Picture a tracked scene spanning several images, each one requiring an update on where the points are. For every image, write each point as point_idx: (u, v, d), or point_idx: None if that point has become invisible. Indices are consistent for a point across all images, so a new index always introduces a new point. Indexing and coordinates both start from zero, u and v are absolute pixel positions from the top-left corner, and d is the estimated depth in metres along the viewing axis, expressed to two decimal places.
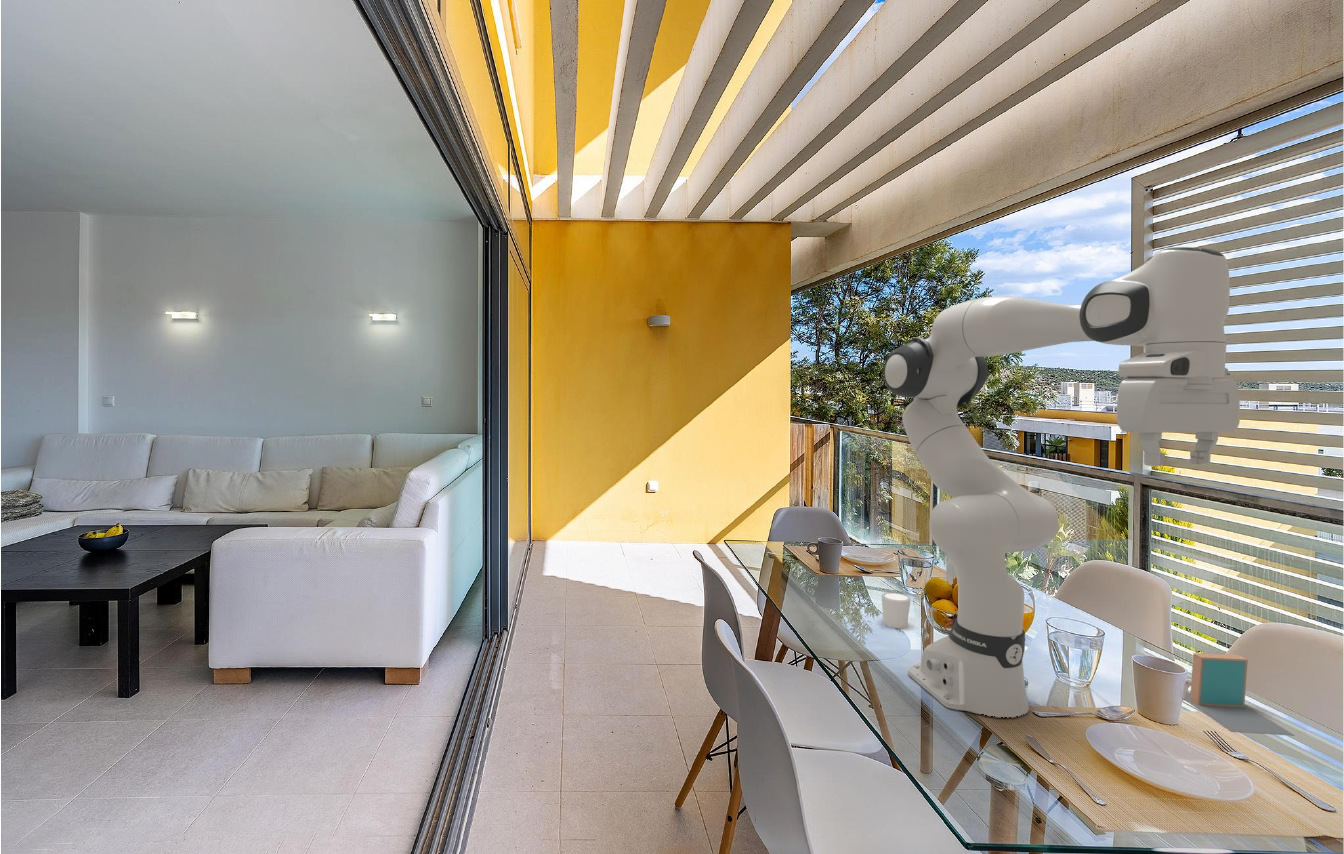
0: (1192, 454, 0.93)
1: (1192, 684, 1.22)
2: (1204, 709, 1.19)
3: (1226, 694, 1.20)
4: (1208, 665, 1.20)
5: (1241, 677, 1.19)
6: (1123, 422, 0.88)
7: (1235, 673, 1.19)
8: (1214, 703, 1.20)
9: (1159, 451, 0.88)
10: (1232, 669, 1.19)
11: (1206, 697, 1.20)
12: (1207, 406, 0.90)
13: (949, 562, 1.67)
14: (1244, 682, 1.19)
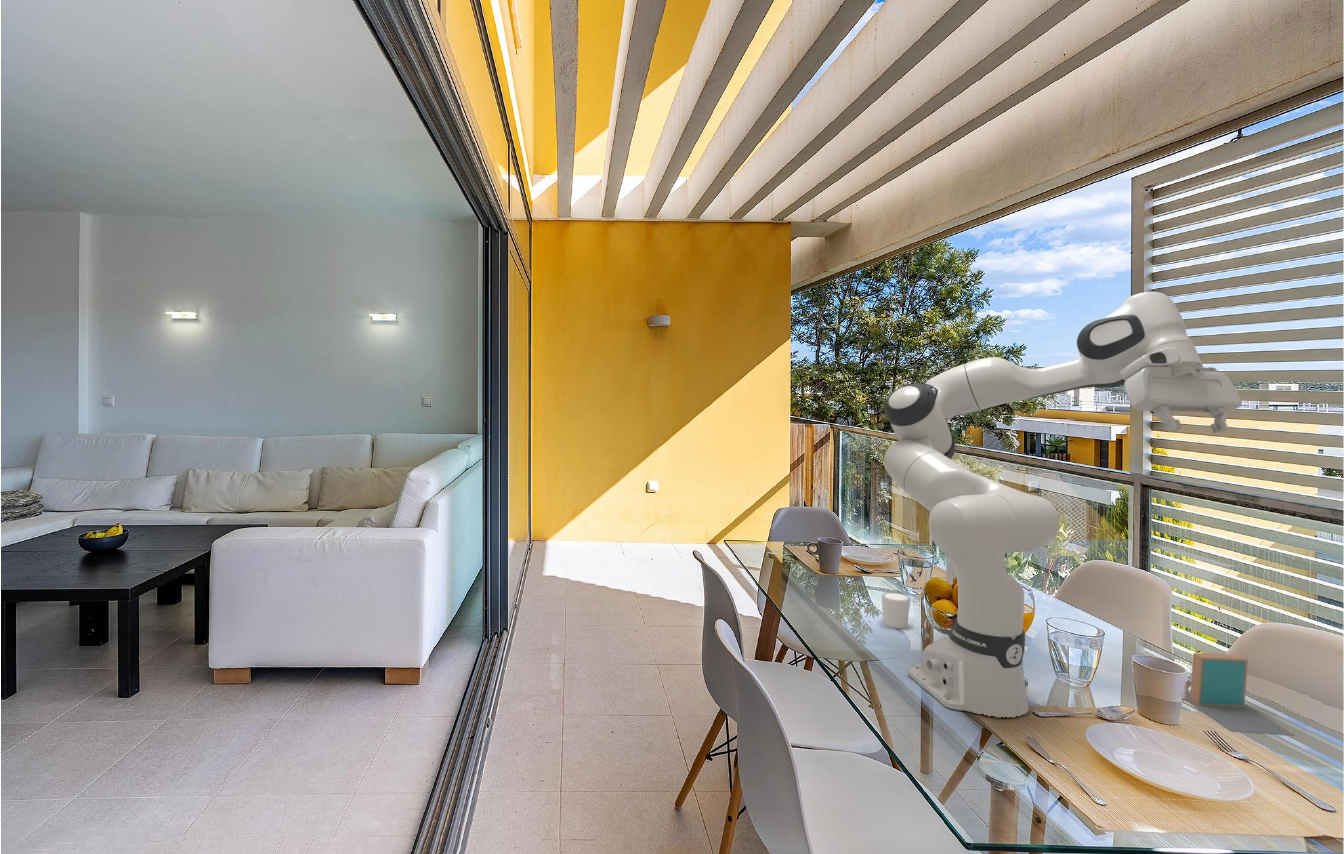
0: (1212, 426, 1.21)
1: (1192, 684, 1.22)
2: (1204, 709, 1.19)
3: (1226, 694, 1.20)
4: (1208, 665, 1.20)
5: (1241, 677, 1.19)
6: (1134, 403, 1.22)
7: (1235, 673, 1.19)
8: (1214, 703, 1.20)
9: (1172, 418, 1.19)
10: (1232, 669, 1.19)
11: (1206, 697, 1.20)
12: (1202, 387, 1.22)
13: (949, 562, 1.67)
14: (1244, 682, 1.19)
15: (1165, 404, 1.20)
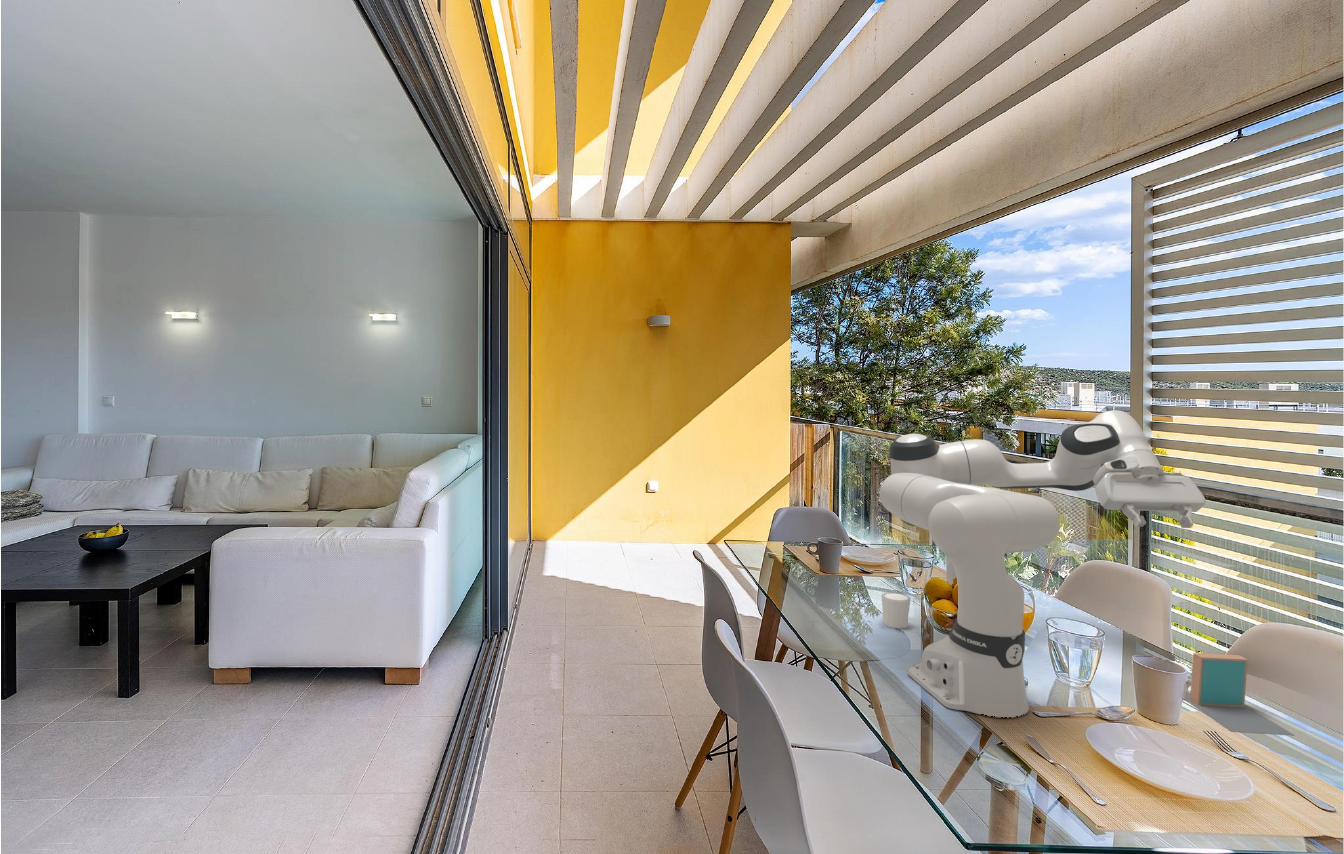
0: (1180, 522, 1.38)
1: (1192, 684, 1.22)
2: (1204, 709, 1.19)
3: (1226, 694, 1.20)
4: (1208, 665, 1.20)
5: (1241, 677, 1.19)
6: (1102, 503, 1.41)
7: (1235, 673, 1.19)
8: (1214, 703, 1.20)
9: (1136, 514, 1.37)
10: (1232, 669, 1.19)
11: (1206, 697, 1.20)
12: (1165, 488, 1.40)
13: (949, 562, 1.67)
14: (1244, 682, 1.19)
15: (1129, 503, 1.39)
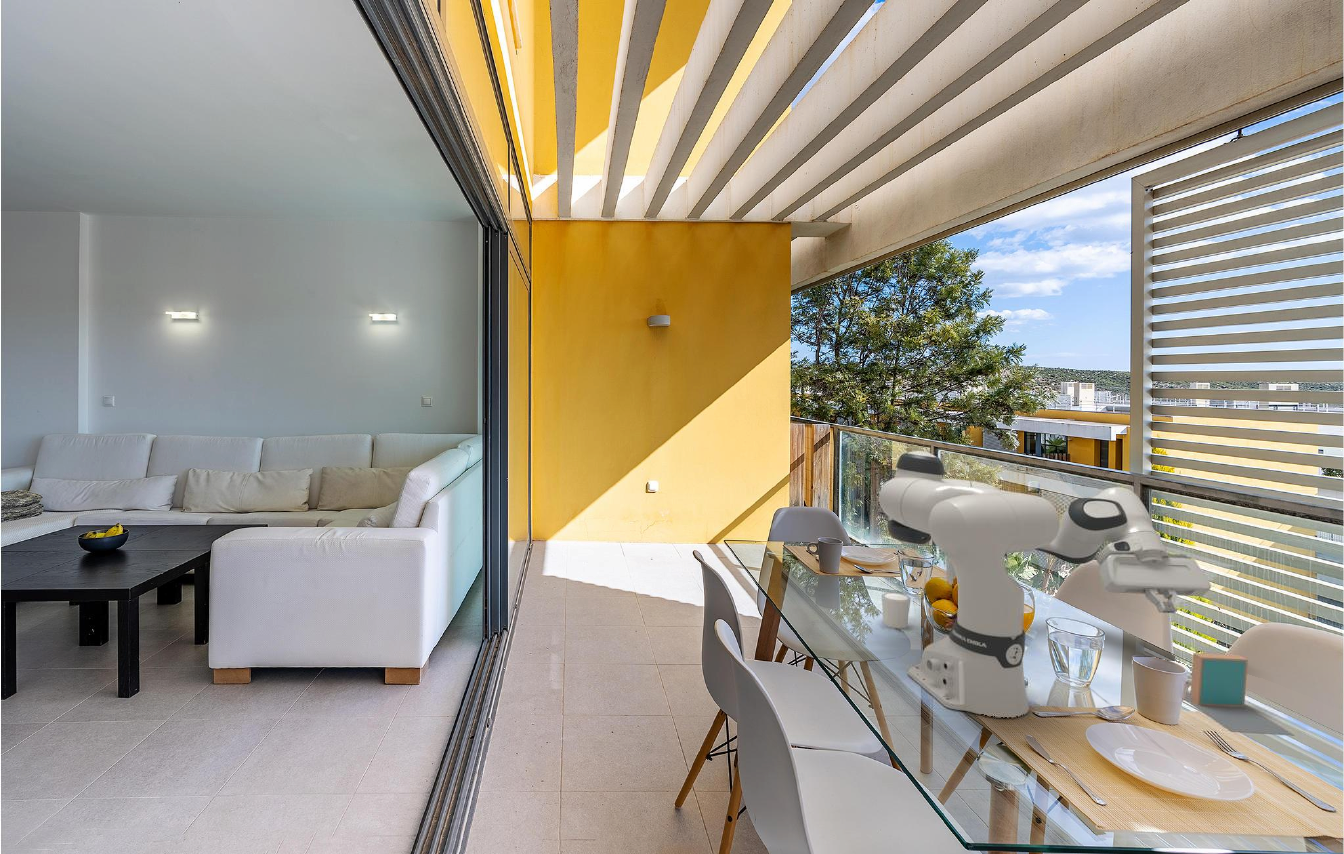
0: None
1: (1192, 684, 1.22)
2: (1204, 709, 1.19)
3: (1226, 694, 1.20)
4: (1208, 665, 1.20)
5: (1241, 677, 1.19)
6: (1106, 585, 1.41)
7: (1235, 673, 1.19)
8: (1214, 703, 1.20)
9: (1160, 600, 1.36)
10: (1232, 669, 1.19)
11: (1206, 697, 1.20)
12: (1169, 572, 1.39)
13: (949, 562, 1.67)
14: (1244, 682, 1.19)
15: (1132, 587, 1.38)
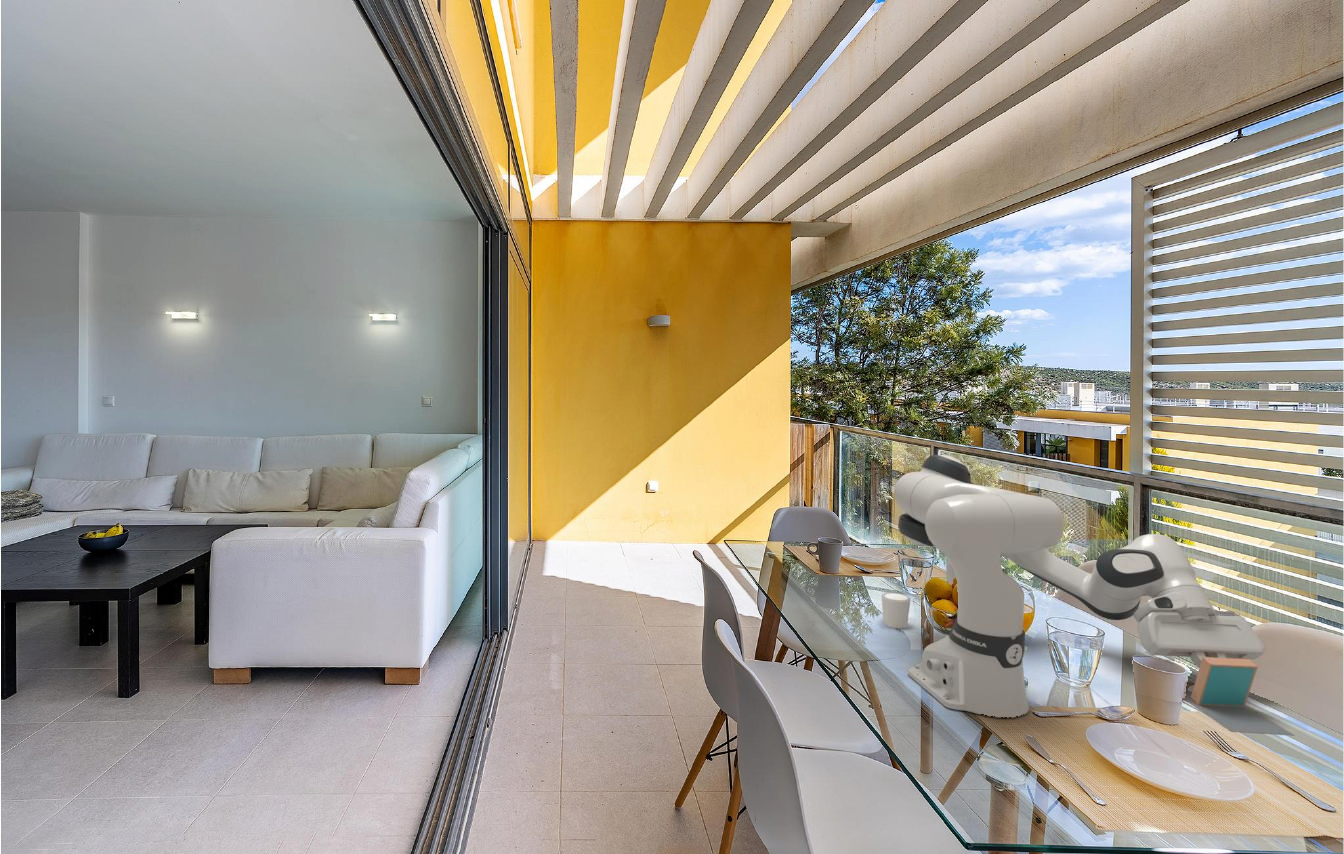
0: None
1: (1195, 684, 1.21)
2: (1204, 709, 1.19)
3: (1229, 696, 1.19)
4: (1216, 671, 1.18)
5: (1247, 682, 1.18)
6: (1146, 647, 1.26)
7: (1242, 678, 1.18)
8: (1214, 703, 1.20)
9: None
10: (1240, 675, 1.18)
11: (1208, 698, 1.20)
12: (1218, 633, 1.25)
13: (949, 562, 1.67)
14: (1249, 686, 1.18)
15: (1177, 650, 1.24)
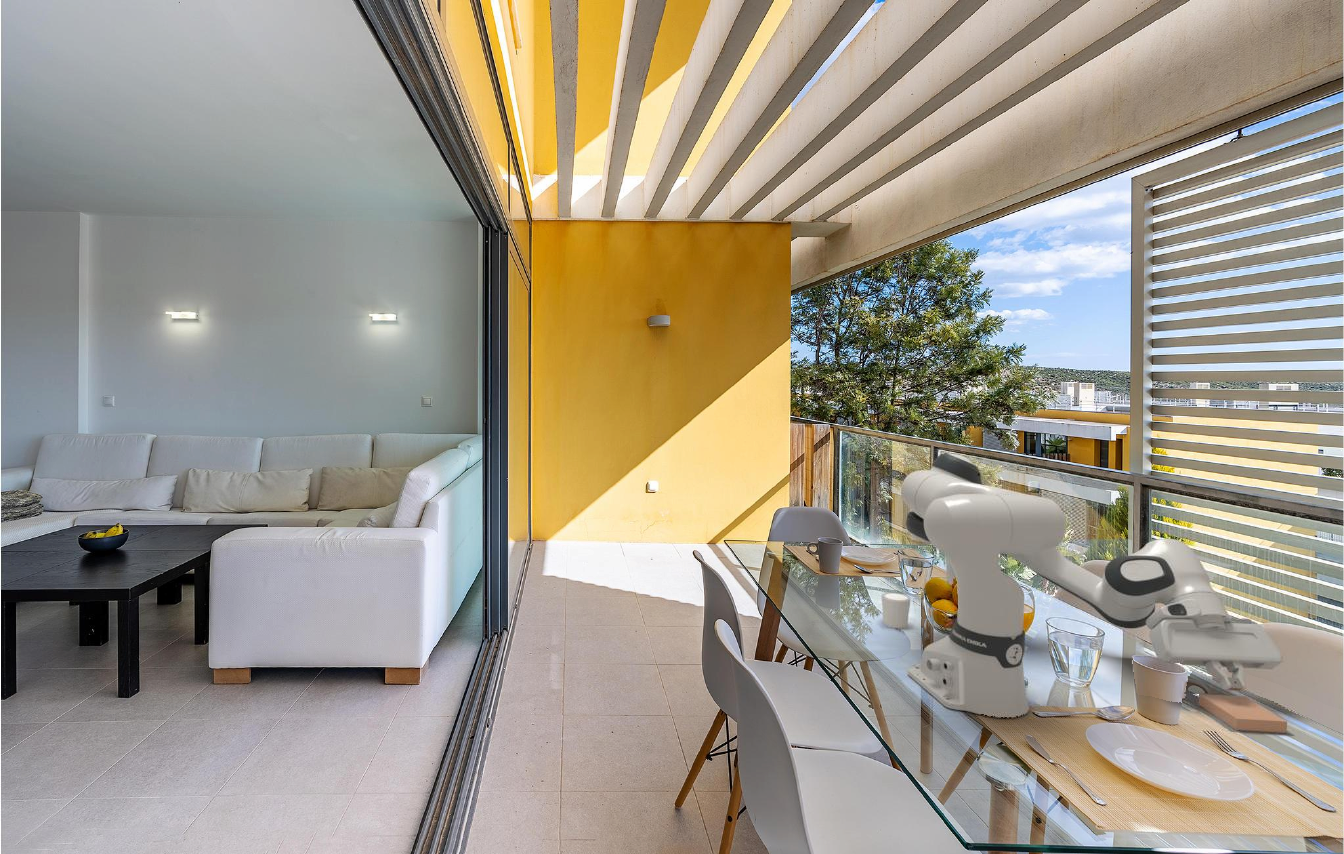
0: None
1: (1211, 703, 1.17)
2: (1204, 709, 1.19)
3: None
4: None
5: None
6: (1159, 656, 1.22)
7: None
8: None
9: (1225, 675, 1.18)
10: None
11: None
12: (1234, 641, 1.21)
13: (949, 562, 1.67)
14: None
15: (1191, 659, 1.19)
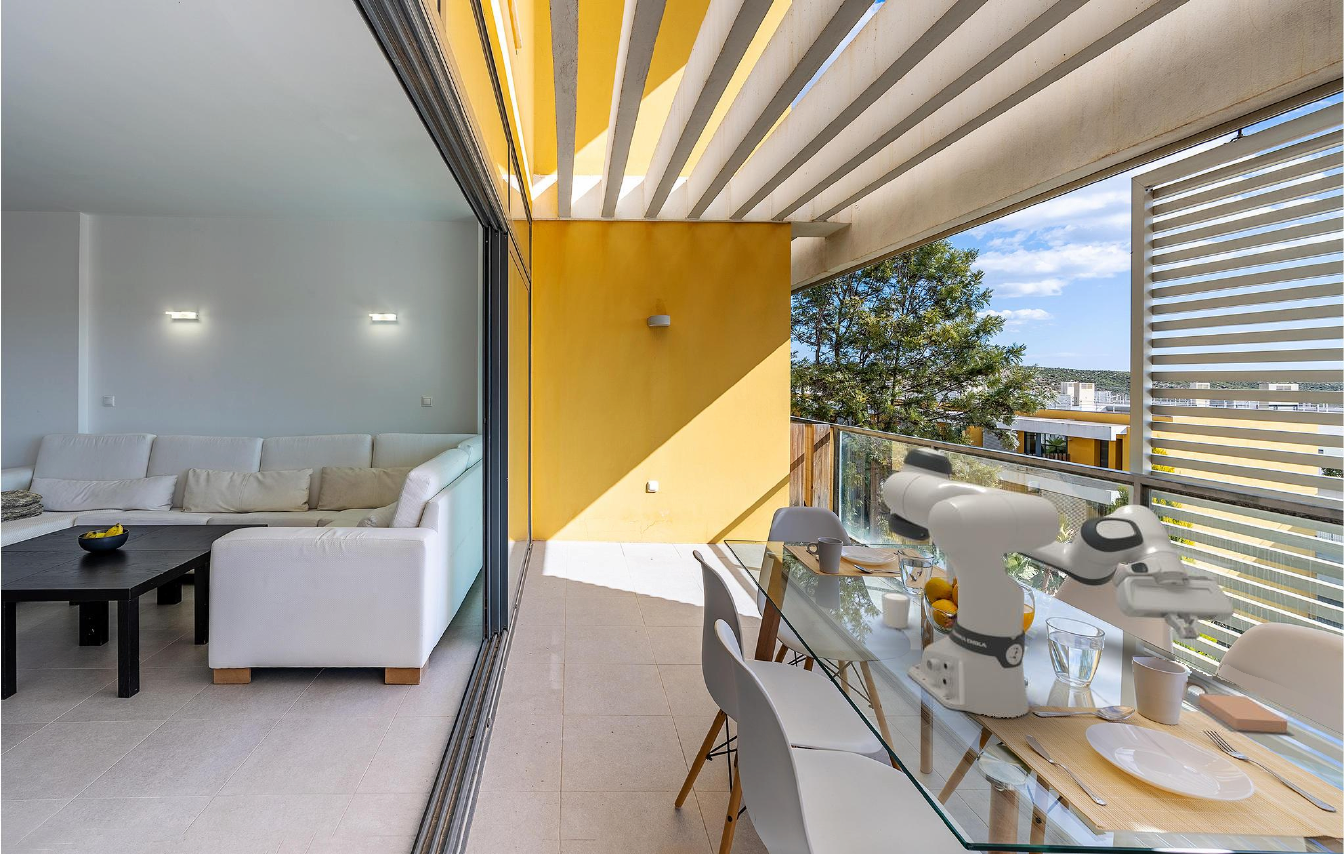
0: None
1: (1211, 703, 1.17)
2: (1204, 709, 1.19)
3: None
4: None
5: None
6: (1123, 609, 1.34)
7: None
8: None
9: (1181, 625, 1.29)
10: None
11: None
12: (1190, 595, 1.32)
13: (949, 562, 1.67)
14: None
15: (1151, 611, 1.31)
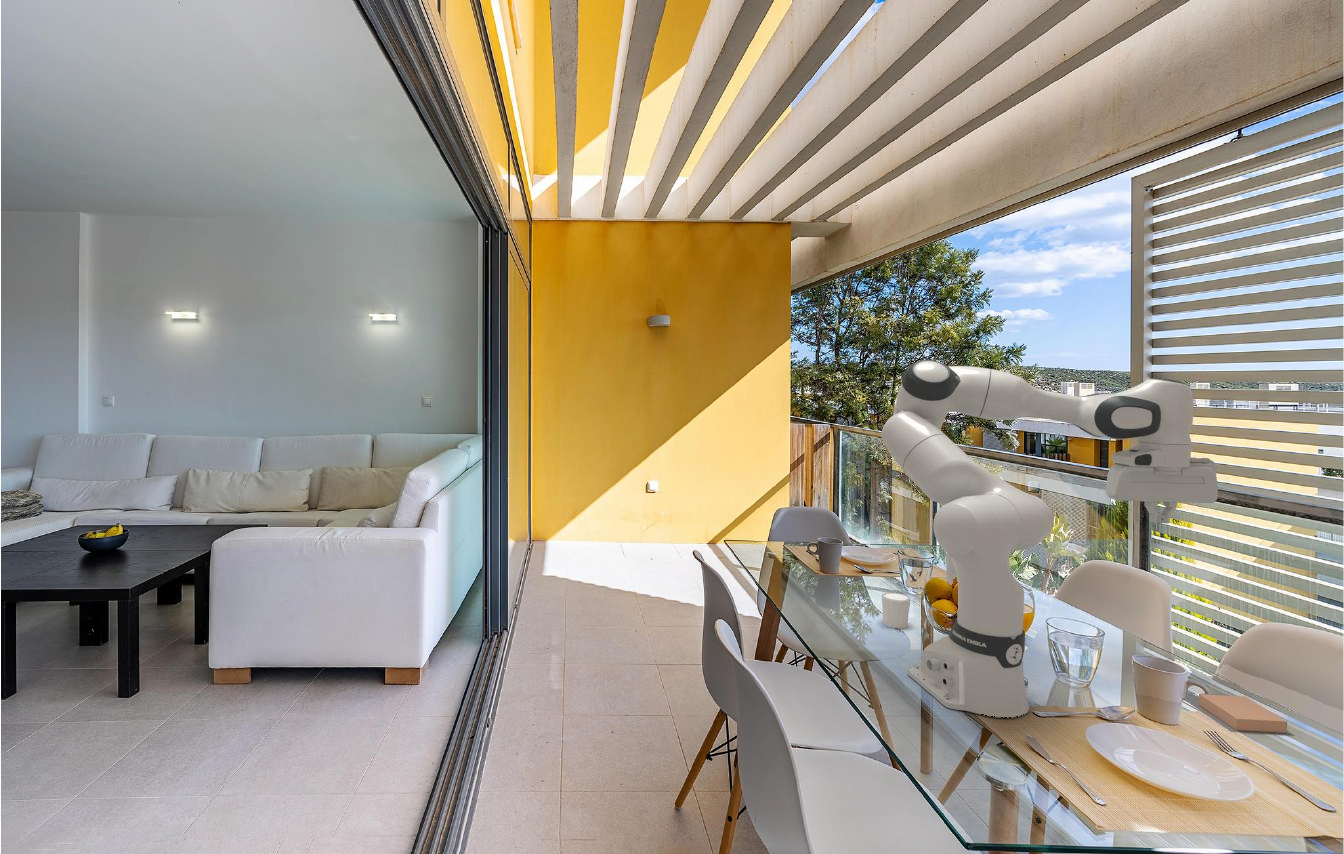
0: None
1: (1211, 703, 1.17)
2: (1204, 709, 1.19)
3: None
4: None
5: None
6: (1108, 493, 1.37)
7: None
8: None
9: (1156, 513, 1.35)
10: None
11: None
12: (1181, 485, 1.34)
13: (949, 562, 1.67)
14: None
15: (1134, 500, 1.35)
